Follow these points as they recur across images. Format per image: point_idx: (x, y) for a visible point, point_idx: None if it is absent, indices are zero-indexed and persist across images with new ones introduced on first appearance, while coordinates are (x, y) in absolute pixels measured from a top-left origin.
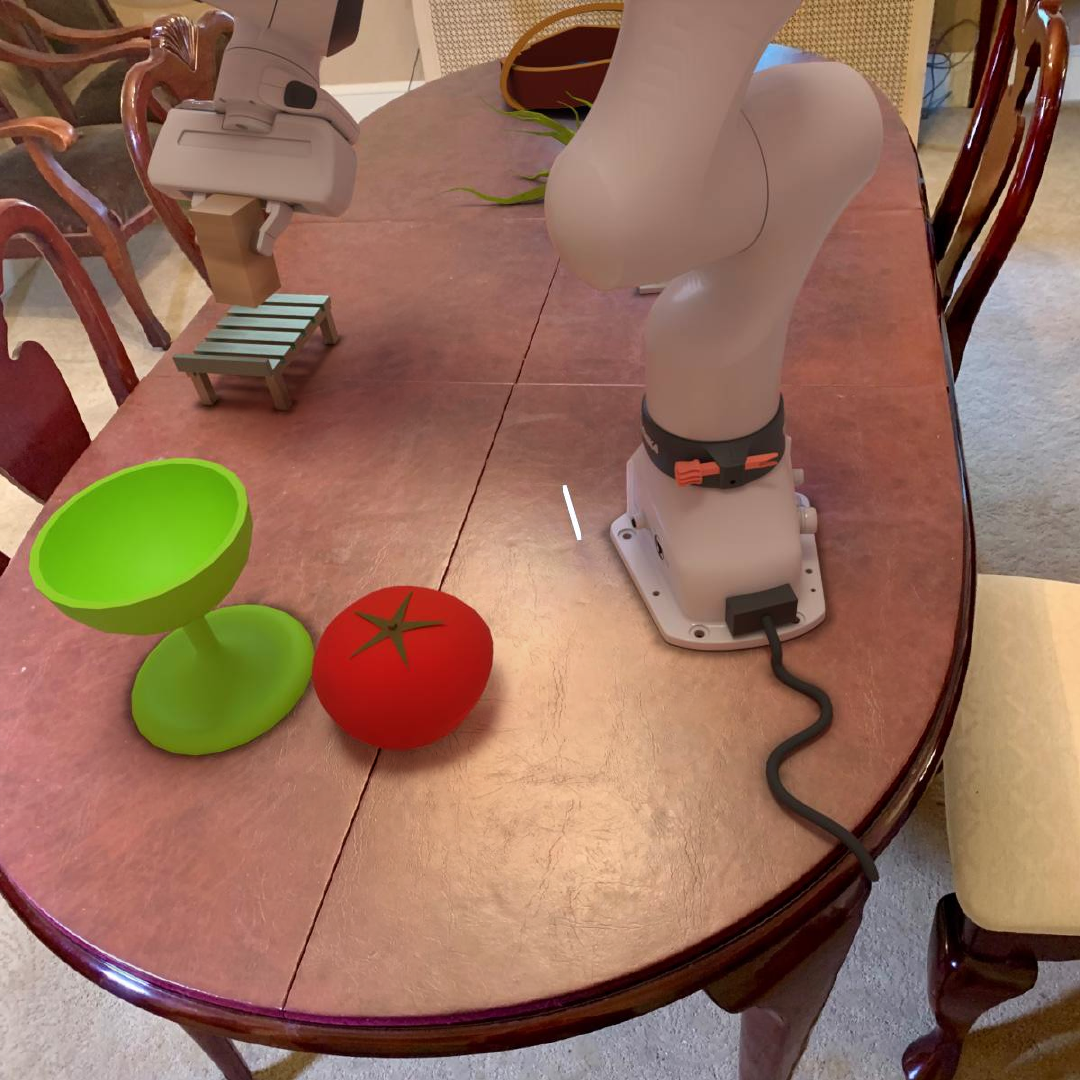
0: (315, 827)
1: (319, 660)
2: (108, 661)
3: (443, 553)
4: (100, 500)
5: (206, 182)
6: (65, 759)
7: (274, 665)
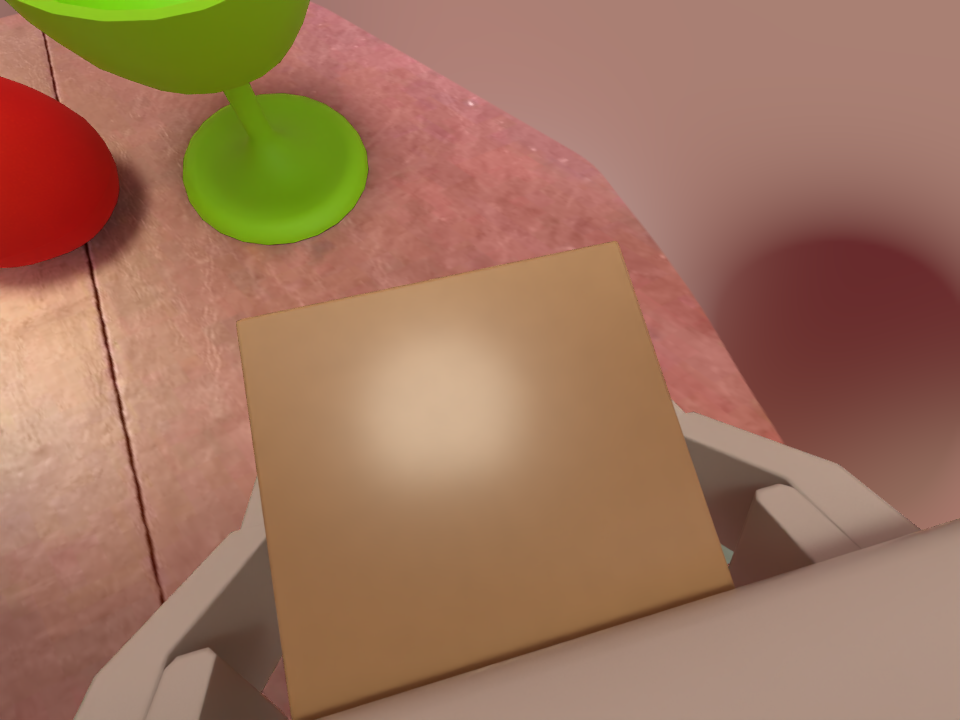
0: (90, 98)
1: (28, 90)
2: (403, 136)
3: (132, 396)
4: None
5: (892, 623)
6: (350, 64)
7: (219, 180)
